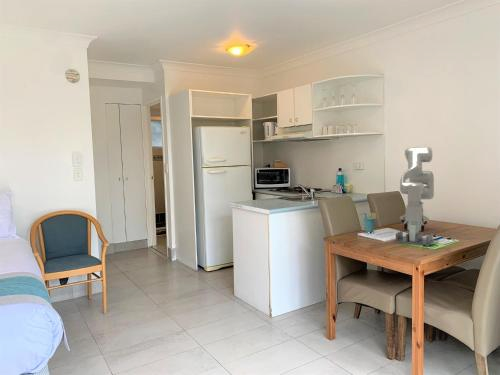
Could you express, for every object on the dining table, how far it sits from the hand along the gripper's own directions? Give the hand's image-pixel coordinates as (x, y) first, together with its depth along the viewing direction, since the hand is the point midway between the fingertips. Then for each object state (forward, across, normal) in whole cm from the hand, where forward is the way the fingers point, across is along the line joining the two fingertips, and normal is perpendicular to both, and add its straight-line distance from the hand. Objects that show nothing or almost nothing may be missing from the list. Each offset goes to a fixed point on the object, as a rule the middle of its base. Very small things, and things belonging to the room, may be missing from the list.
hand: (414, 230), depth 242 cm
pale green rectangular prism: (+6, 0, 0) cm, 6 cm away
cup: (+7, +35, -15) cm, 39 cm away
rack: (+7, 0, 0) cm, 7 cm away
